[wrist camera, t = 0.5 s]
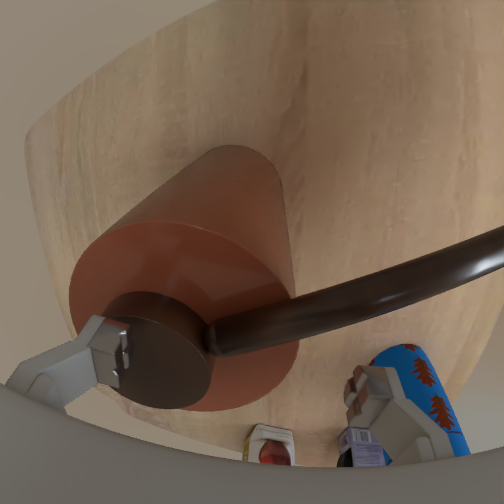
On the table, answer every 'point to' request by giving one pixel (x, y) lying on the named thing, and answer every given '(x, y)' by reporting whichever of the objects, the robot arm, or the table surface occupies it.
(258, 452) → the juice carton
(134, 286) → the canister
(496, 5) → the table surface
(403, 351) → the thermos
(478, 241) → the brown disc-ended rod
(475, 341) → the table surface
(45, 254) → the table surface
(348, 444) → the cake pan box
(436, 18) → the table surface
